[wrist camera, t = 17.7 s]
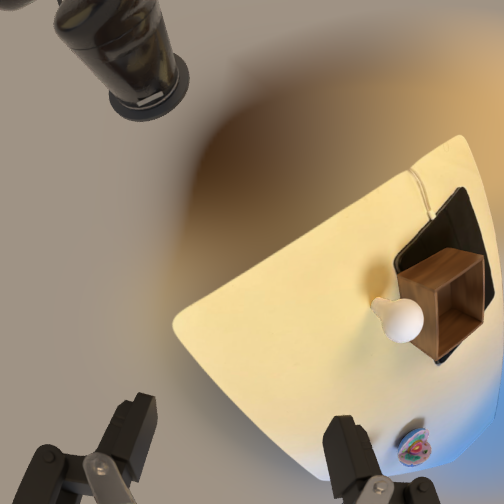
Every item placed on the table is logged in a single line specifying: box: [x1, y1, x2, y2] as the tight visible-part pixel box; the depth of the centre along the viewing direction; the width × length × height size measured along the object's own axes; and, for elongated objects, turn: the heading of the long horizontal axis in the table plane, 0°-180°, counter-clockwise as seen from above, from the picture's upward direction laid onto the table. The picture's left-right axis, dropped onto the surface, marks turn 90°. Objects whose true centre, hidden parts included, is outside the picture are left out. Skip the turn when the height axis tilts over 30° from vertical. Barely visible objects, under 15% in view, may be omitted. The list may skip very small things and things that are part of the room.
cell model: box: [398, 428, 431, 467], centre depth 43 cm, size 10×12×10 cm
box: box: [397, 247, 485, 361], centre depth 36 cm, size 13×13×10 cm
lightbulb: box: [371, 297, 424, 343], centre depth 34 cm, size 6×6×11 cm
